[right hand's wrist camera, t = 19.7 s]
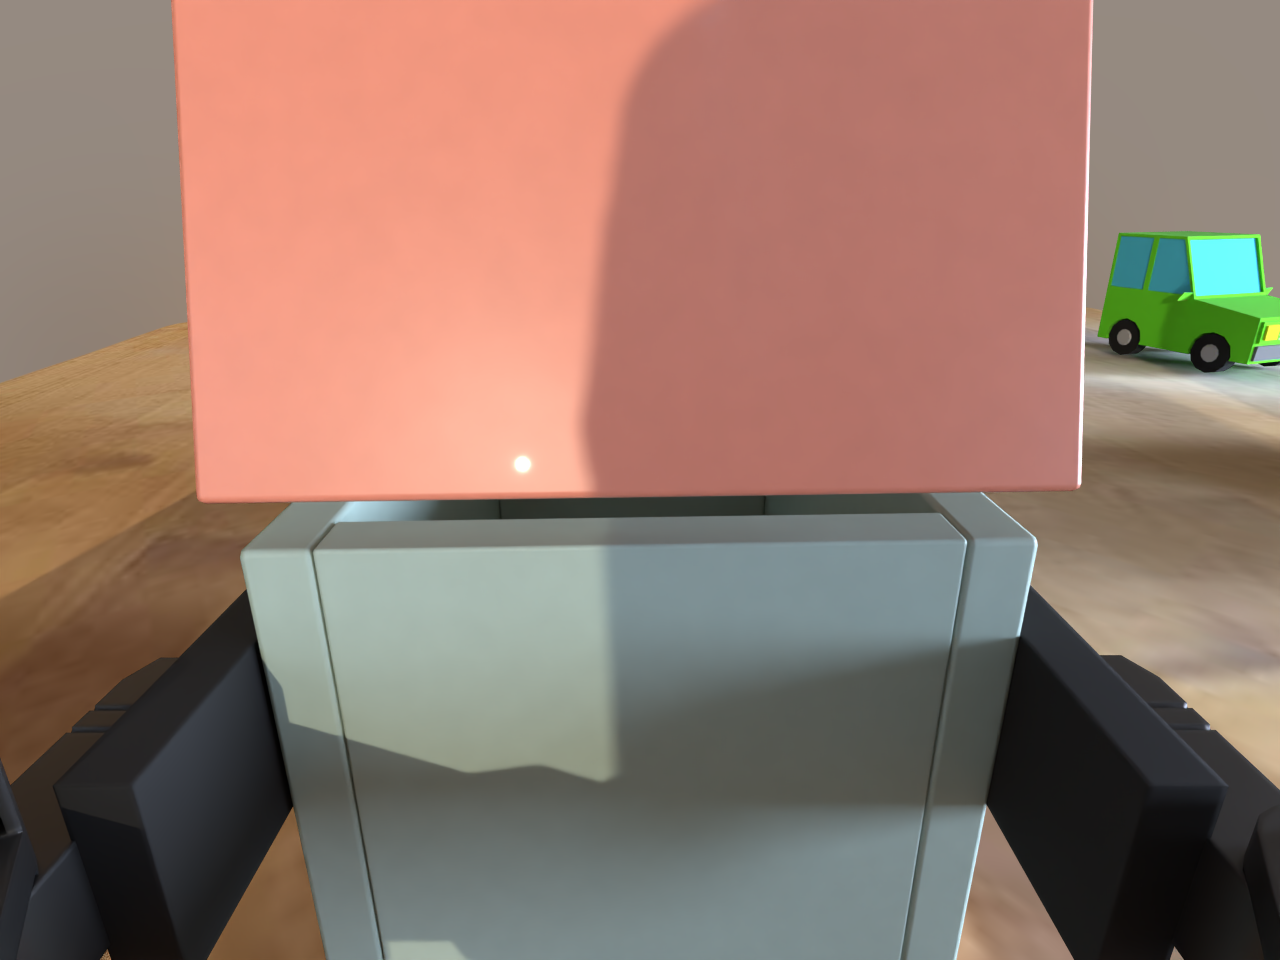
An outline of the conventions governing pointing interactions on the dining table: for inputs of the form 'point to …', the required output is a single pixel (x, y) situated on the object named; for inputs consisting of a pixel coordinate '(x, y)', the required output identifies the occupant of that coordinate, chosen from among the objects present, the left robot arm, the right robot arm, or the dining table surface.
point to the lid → (633, 246)
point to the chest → (641, 720)
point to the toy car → (1192, 298)
